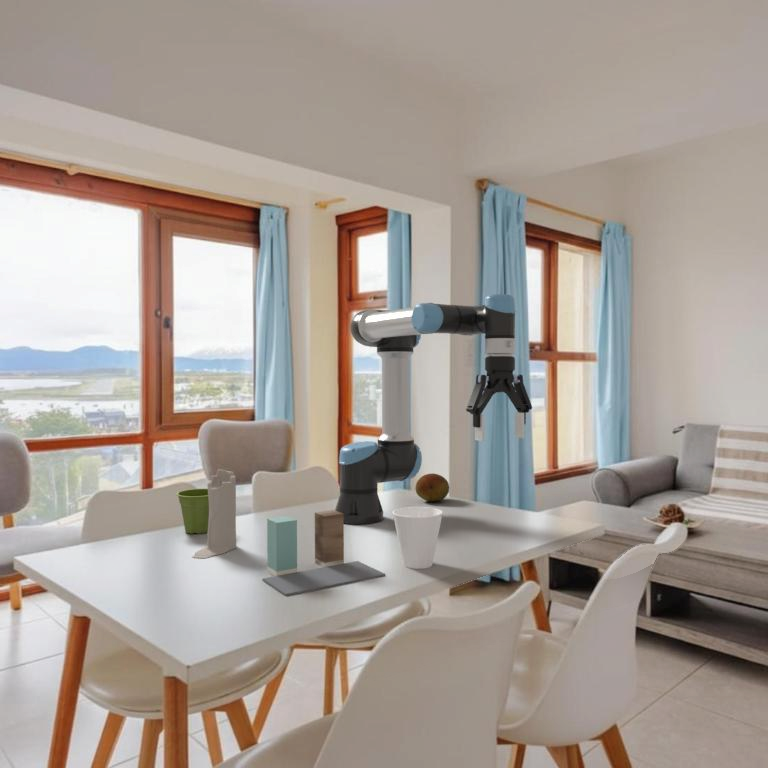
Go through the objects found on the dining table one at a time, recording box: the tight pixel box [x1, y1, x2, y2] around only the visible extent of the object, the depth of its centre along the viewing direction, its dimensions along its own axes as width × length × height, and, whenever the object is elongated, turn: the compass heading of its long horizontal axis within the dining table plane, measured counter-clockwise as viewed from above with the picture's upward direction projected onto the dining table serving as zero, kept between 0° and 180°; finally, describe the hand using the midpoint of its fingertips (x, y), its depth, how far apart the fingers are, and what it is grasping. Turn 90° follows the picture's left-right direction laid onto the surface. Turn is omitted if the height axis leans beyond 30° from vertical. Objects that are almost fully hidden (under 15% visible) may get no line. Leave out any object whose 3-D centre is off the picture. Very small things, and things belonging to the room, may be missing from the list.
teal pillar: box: [266, 515, 298, 577], centre depth 148 cm, size 5×5×12 cm
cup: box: [392, 506, 444, 570], centre depth 153 cm, size 12×12×12 cm
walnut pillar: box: [314, 509, 345, 568], centre depth 154 cm, size 5×5×12 cm
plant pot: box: [176, 488, 209, 535], centre depth 187 cm, size 12×12×11 cm
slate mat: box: [261, 560, 386, 597], centre depth 143 cm, size 12×24×1 cm, turn 123°
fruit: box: [414, 473, 450, 503], centre depth 229 cm, size 12×12×10 cm
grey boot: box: [192, 468, 237, 559], centre depth 166 cm, size 7×14×20 cm, turn 160°
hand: (499, 439), depth 167 cm, fingers open, 13 cm apart
